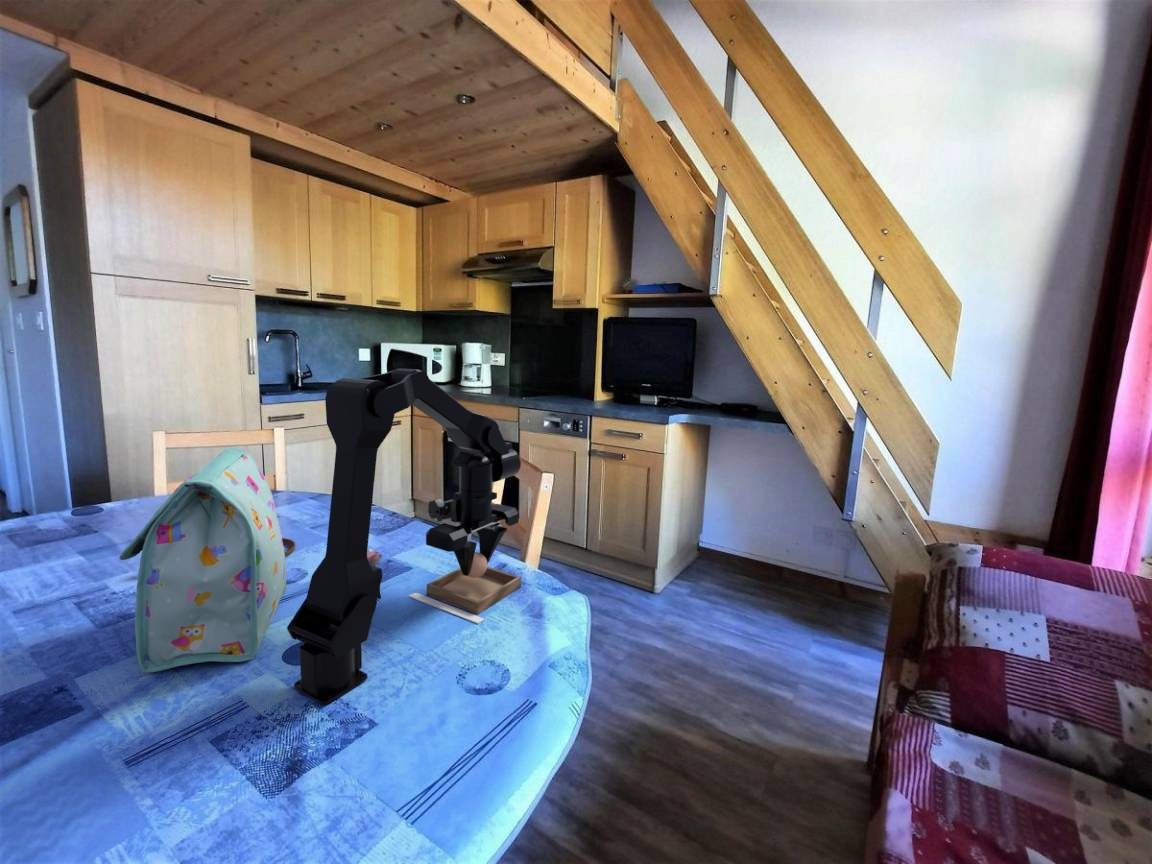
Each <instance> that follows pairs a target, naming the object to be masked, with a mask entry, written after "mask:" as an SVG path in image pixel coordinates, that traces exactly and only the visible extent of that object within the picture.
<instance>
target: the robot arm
mask: <svg viewBox="0 0 1152 864" xmlns="http://www.w3.org/2000/svg"><path fill="white" fill-rule="evenodd" d="M326 390H327V391H326V393H325V398H324V400H325V401H324V402H325V416H326V425H327V428H328V430H329V432H330V435H331V437H332V439H333V441H334V443H335V457H334V469H333V476H332V477H333V478H332V488H331V496H330V498H331V499H330V510H329V520H328V529H327V539H326V540H327V542H326V548H325V549H326V550H325V556H324V558H323V559H322V560H321V562H320V563H319V564H318V566H317V567H316V568H315V570H314V571H313V573H312V575H311V577H310V578H311V579H310V583H309V586H308V590H307V595H306V598H305V599H304V601H303V602H302V604H301V605H300V606H299V608H298V609H297V611H296V613H295V614H294V615H293V617H292V619H291V620H290V622H289V623H288V625H287V626H286V629H287V632H288V634H289V635H290V637H291V639H292V640H296V641H299V642H301V643H303V644H302V645H300V646H299V650H298V651H299V662H300V663H299V666H300V679H299V680H297V681H295V682H294V683H293V688H294V689H295V690H297V691H299V692H300V693H302V694H303V695H305V696H306V697H308V698H309V699H312V700H313V701H314V702H316V703H317V704H319V705H320V706H326V705H327V704H330V703H331V702H334V700H336V699H338V698H339V697H341V696H342V695H344V694H346V693H348V692H349V691H350V690H353V689H354V688H356V686H358V685H360V684H362V683H363V682H365V681H366V680H367V679H368V673H366V672H364V671H362V670H361V669H362V668H363V660H362V658H363V654H362V653H363V652H362V651H363V650H362V645H363V644H364V643H365V642H366V641H367V640H368V637H369V634H370V631H371V630H370V629H371V626H372V622H373V619H374V614H375V611H376V610H377V604H378V600H381V599H382V596H381V583H382V580H383V569H382V568H381V567H377V566H371V565H370V563H369V560H368V558H367V551H368V547H369V539H370V538H369V536H370V527H371V518H372V507H373V505H372V504H373V497H374V487H375V476H376V469H377V468H376V467H377V466H376V465H377V457H378V456H377V455H378V450H379V448H380V446H381V445H382V443H383V442H384V441H385V440H386V438H387V437H388V436H389V434H390V432H391V431H392V427H393V424H394V418H395V415H396V414H398V413H400V412H402V411H404V410H406V409H409V408H411V406H413V407H415V408H416V409H417V410H419V411H420V412H422V413H423V414H425V415H426V416H427V417H429V418H430V419H432V420H433V421H435V423H437V424H439V425H440V426H441V427H443V428H444V429H445V430H446V434H447V437H448V439H450V440H451V442H452V443H453V444H454V445H455V446H456V447H457V448H459V449H464V450H467V451H459V453H458V455H457V456H455V457H454V458H453V459H452V461H451V463H450V465H451V466H454V467H459V491H457V492H454V493H453V495H452V499H449V500H446V501H444V500H443V499H442V498H438V499H434V500H429V501H428V510H427V511H428V514H429V517H430V518H431V519H433V520H435V519H436V521H437V522H442V521H443V520H447V519H450V521H451V522H453V523H455V524H456V523H459V525H457V526H456V525H452V524H449V523H442V524H439V525H435V526H434V527H431V528H429V529H428V530H427V531H426V532H425V545H426V546H429V547H433V548H435V549H439V550H442V551H445V552H447V553H448V552H450V553H451V552H453V553H454V556H455V558H456V560H457V563H458V565H459V568H461V571H462V573H463V575H465V576H468V575H469V573H470V570H471V566H472V562H473V558H474V554H475V552H476V549H477V544H478V543H477V542H475V541H472V535H473V533H474V532H476V534H477V535H478V538H479V539H478V541H479V553H481V554H482V555H484V556H485V558H486V560H487V564H489V562H490V560H491V558H492V556H493V554H494V552H495V550H496V549H497V547H498V545H499V543H500V541H501V539H502V538H503V536H504V535H505V533H506V532H507V531H508V528H507V527H504V526H503V525H502V523H501V521H502V520H503V521H504V520H505V521H504V523H505V524H506V525H507V526H509V527H511V526H513V525H516V524H518V523H519V520H520V519H519V512H518V510H517V509H516V507H513V506H508V505H503V504H500V503H495V504H493V501H494V500H496V499H497V498H498V492H495V491H493V483H496V482H499V481H502V480H504V479H508V478H510V477H514V476H515V475H516V474H518V473H519V471H520V469H521V465H522V462H521V460H520V456H519V454H518V453H517V451H516V450H514V449H513V443H512V442H507V441H505V438H503V434H502V433H501V431H500V426H499V423H497V421H496V420H494V419H493V418H490V417H489V416H486V415H485V414H481V413H478V412H474V411H471V410H469V409H467V408H466V407H465V406H464V405H463V404H461V403H460V402H459V401H458V400H456V399H455V398H454V397H453V396H451V395H450V394H449V393H448V392H446V391H445V390H444V389H443V388H441V387H440V386H439V385H438V384H437V383H436V382H434V381H433V380H432V379H430V378H429V375H428V374H427V372H424V371H422V370H421V369H413V368H396V369H393V370H390V371H388V372H384V373H379V374H375V375H369V376H364V377H359V378H353V377H352V378H351V377H344V378H339V379H338V380H336V381H335V382H334V383H332V384H331V385H329V386H328V388H327V389H326ZM468 451H472V453H471V452H468Z"/></svg>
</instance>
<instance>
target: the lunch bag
mask: <svg viewBox="0 0 1152 864" xmlns="http://www.w3.org/2000/svg"><path fill="white" fill-rule="evenodd" d="M276 510H277V509H276V505H275V501H274V497H273V493H272V491H271V488H270V484H269V482H268V481H267V479H266V476H265V475H264V474H263V472H262V470H261V469H260V467H259V465H258V463H257V462H256V461H255V459H254V458H253V456H252V455H251V453H249V452H247V451H245V450H243V449H241V448H237V447H233V446H230V447H226V448H225V449H224V450H223V451H222V452H221V453H219V454H218V455H217V456H216V457H215V458H213V459H212V460H210V461H209V462H208V463H207V464H205V466H203V467H202V468H201V469H200V470H198V471H197V472H196V473H195V474H193V475H191V476H190V477H188V478H186V479H185V480H184V481H183V482H182V483H181V484H180V485H178V487H176V489H174V491H173V492H172V493H171V494H170V496H169V497H168V498H167V499H166V500H165V501H164V502H163V503H162V505H160V507H159V508H158V509H157V510H156V511H155V513H154V514H153V515H152V516H151V518H150V519H149V521H148V522H147V523H146V524H145V526H144V527H143V528H142V529H141V530H140V531H139V532H138V534H137V535H136V536H135V538H134V539H132V541H130V543H129V544H128V545H127V546H126V547H125V549H123V551H122V552H121V553H120V554H119V557H118V558H119V560H121V561H126V560H129V559H132V558H134V557H136V556H138V555H139V554H140V553H141V554H140V559H139V568H138V574H137V583H136V591H135V592H136V594H135V595H136V596H135V615H134V630H135V631H134V633H135V647H136V648H135V650H136V651H135V653H136V658H137V664H138V667H140V669H141V672H142V673H156V672H162V671H165V670H169V669H172V668H177V667H181V666H187V665H192V664H199V663H205V662H221V663H222V662H223V663H240V662H246V661H250V660H252V659H254V658H255V656H256V654H257V652H258V651H259V649H260V646H261V644H262V642H263V639H264V637H265V635H266V633H267V630H268V629H269V626H270V624H271V623H272V620H273V618H274V615H275V613H276V612H277V608H278V607H279V603H280V601H281V599H282V597H283V595H284V593H285V592H286V590H287V564H286V563H287V562H286V557H285V554H284V552H285V547H284V545H283V541H282V538H283V536H282V531H281V527H280V521H279V518H278V513H277V511H276Z"/></svg>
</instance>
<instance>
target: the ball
mask: <svg viewBox="0 0 1152 864" xmlns="http://www.w3.org/2000/svg"><path fill="white" fill-rule="evenodd" d="M488 564H489V563H488ZM488 564H487V560H486V558H485V556H484V555H482V554H481V553H480V552H477V551H475V554H474V558H473V562H472V566H471V570H470V573H469V575H468V576H469V577H471V578H477V577H480V576H482V575H483V574H484V573H485V571H486V570H487V567H488Z"/></svg>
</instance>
